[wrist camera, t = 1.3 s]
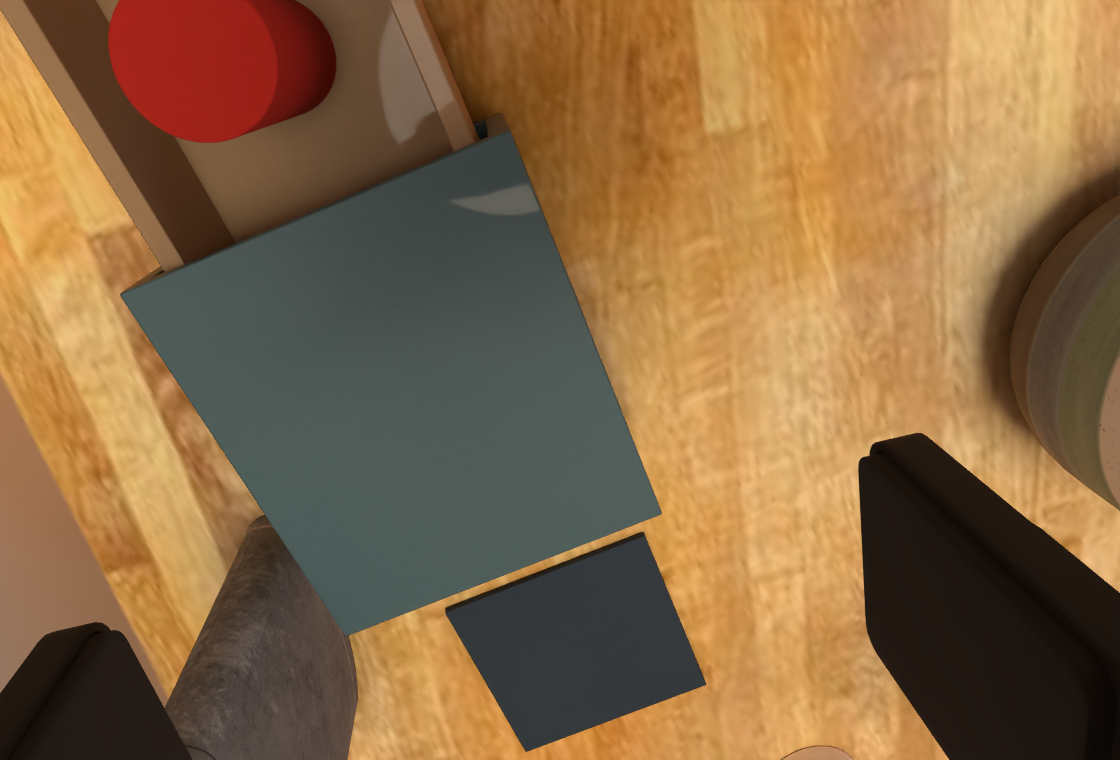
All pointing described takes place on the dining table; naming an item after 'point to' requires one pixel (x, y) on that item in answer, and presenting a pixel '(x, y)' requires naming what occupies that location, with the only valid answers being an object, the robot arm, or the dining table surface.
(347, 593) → the cabinet
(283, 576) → the flask
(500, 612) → the mat
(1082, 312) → the vase
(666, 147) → the dining table surface
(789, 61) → the dining table surface
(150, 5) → the cylinder
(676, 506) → the dining table surface
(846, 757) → the candle
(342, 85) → the drawer
